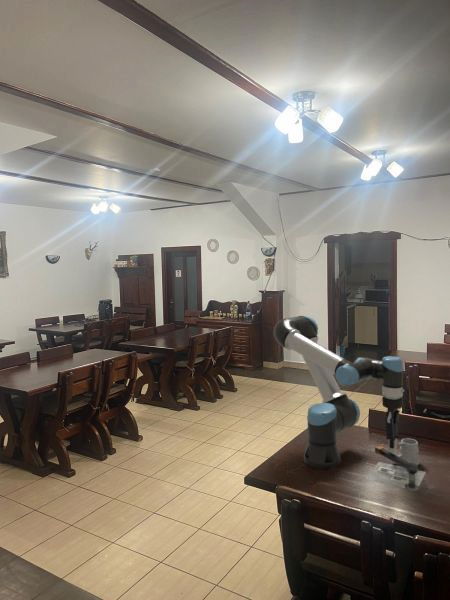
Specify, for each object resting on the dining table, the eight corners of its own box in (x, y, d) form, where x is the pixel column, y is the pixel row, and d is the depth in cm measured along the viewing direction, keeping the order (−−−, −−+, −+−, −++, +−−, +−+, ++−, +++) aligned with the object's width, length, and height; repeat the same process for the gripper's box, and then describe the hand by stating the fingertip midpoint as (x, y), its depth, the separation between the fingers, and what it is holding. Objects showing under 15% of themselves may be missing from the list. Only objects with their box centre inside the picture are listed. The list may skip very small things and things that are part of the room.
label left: (377, 471, 177) (377, 470, 177) (380, 467, 181) (380, 466, 180) (393, 475, 174) (393, 474, 174) (395, 471, 177) (395, 469, 177)
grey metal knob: (403, 490, 164) (403, 473, 163) (406, 484, 168) (406, 467, 167) (417, 494, 161) (417, 476, 161) (420, 488, 165) (420, 470, 165)
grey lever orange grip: (419, 472, 163) (419, 466, 163) (411, 474, 162) (411, 468, 161) (381, 450, 182) (381, 445, 182) (374, 452, 181) (374, 447, 180)
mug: (423, 468, 181) (423, 439, 180) (394, 470, 180) (394, 441, 179) (413, 460, 188) (413, 431, 187) (386, 461, 187) (386, 433, 186)
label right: (390, 480, 170) (390, 478, 170) (393, 475, 173) (393, 474, 173) (407, 484, 167) (407, 482, 167) (409, 479, 170) (409, 478, 170)
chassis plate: (366, 480, 172) (366, 478, 172) (378, 463, 186) (378, 461, 186) (416, 493, 162) (416, 491, 162) (425, 474, 176) (425, 472, 176)
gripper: (398, 402, 170) (398, 463, 172) (406, 393, 180) (406, 450, 182) (378, 399, 174) (378, 459, 176) (386, 391, 185) (386, 447, 187)
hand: (392, 454), depth 179 cm, fingers closed
